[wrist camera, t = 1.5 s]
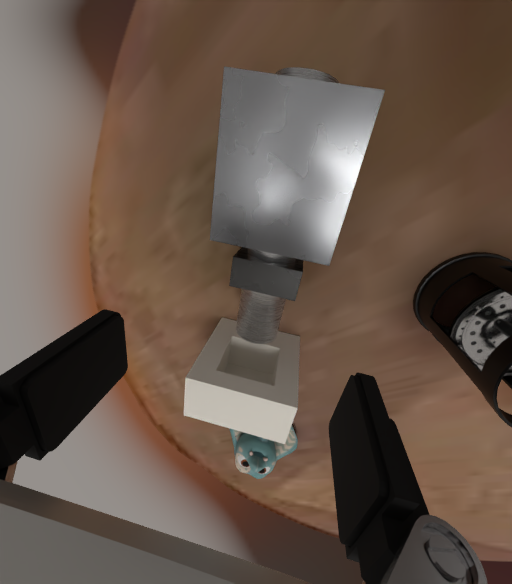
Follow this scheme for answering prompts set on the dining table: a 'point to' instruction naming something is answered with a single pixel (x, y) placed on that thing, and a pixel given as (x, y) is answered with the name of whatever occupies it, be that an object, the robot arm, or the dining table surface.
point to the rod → (267, 271)
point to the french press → (474, 321)
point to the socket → (245, 383)
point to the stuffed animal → (260, 452)
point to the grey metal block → (288, 161)
